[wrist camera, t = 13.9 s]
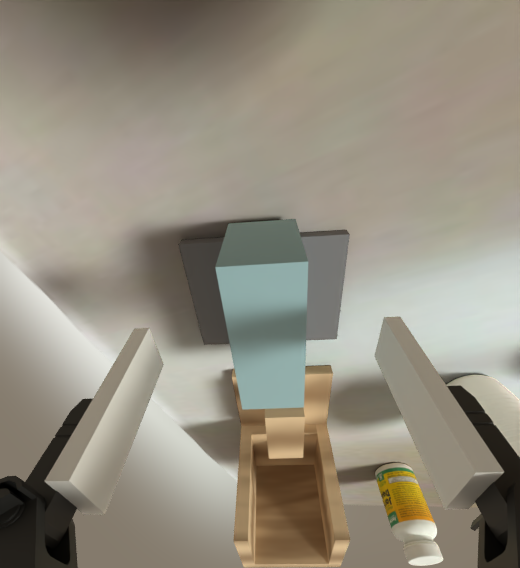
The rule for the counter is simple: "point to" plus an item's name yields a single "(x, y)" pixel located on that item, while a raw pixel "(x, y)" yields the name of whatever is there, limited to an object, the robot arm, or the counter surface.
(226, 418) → the counter surface
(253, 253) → the bar
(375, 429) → the counter surface
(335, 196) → the counter surface
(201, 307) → the mat
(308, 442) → the cradle
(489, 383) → the cup
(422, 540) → the supplement bottle
